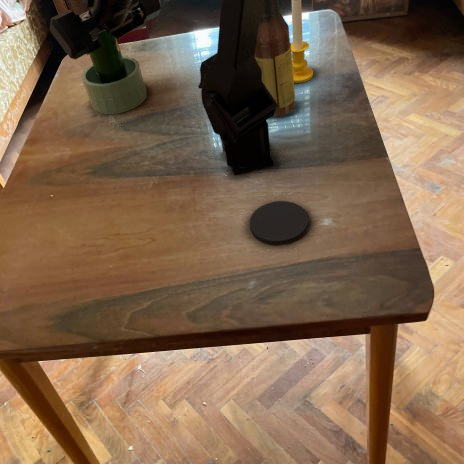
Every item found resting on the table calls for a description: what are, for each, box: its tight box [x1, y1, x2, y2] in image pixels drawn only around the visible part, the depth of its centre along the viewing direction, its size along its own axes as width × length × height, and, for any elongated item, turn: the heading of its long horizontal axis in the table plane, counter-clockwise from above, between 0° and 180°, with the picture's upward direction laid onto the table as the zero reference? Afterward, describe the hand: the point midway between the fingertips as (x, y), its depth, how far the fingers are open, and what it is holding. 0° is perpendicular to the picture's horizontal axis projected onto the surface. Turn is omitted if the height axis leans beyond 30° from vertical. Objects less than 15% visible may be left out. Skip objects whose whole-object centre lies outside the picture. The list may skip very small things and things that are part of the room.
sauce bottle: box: [255, 0, 296, 118], centre depth 81 cm, size 7×6×20 cm
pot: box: [81, 55, 148, 115], centre depth 96 cm, size 11×11×6 cm
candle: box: [290, 0, 314, 84], centre depth 89 cm, size 5×5×16 cm
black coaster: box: [249, 200, 310, 246], centre depth 71 cm, size 8×8×1 cm
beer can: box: [79, 10, 128, 84], centre depth 92 cm, size 5×5×12 cm
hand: (99, 45), depth 92 cm, fingers closed on beer can, 5 cm apart
